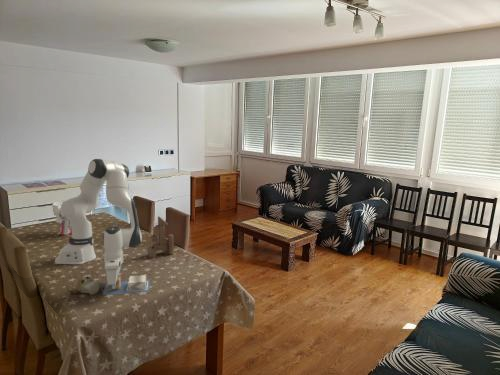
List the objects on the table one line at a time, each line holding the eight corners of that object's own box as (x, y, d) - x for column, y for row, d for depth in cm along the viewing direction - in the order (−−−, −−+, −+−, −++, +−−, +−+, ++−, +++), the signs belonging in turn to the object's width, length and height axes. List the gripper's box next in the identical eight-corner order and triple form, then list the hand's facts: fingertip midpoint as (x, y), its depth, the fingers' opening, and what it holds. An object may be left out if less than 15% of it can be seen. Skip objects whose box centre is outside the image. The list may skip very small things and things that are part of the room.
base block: (128, 290, 178) (128, 282, 178) (130, 283, 186) (130, 276, 185) (145, 289, 180) (145, 281, 180) (146, 282, 188) (146, 275, 187)
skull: (51, 231, 266) (49, 201, 261) (78, 227, 277) (77, 199, 273) (57, 241, 246) (55, 209, 242) (87, 236, 258) (85, 205, 253)
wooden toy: (150, 258, 222) (149, 219, 217) (147, 254, 228) (146, 217, 223) (174, 254, 230) (174, 216, 226) (170, 251, 236) (170, 214, 231)
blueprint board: (102, 297, 173) (102, 294, 173) (106, 284, 186) (106, 282, 186) (149, 293, 178) (149, 291, 178) (150, 281, 191) (150, 279, 191)
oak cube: (108, 290, 178) (108, 281, 177) (110, 285, 182) (110, 276, 182) (119, 289, 179) (119, 280, 178) (120, 285, 184) (120, 276, 183)
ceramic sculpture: (90, 282, 169) (64, 279, 173) (92, 299, 170) (66, 296, 174) (105, 273, 179) (81, 271, 183) (107, 290, 180) (82, 287, 184)
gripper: (110, 252, 187) (111, 276, 190) (103, 267, 167) (105, 295, 170) (123, 251, 188) (123, 275, 191) (118, 267, 169) (119, 294, 172)
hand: (114, 285), depth 180 cm, fingers open, 5 cm apart
